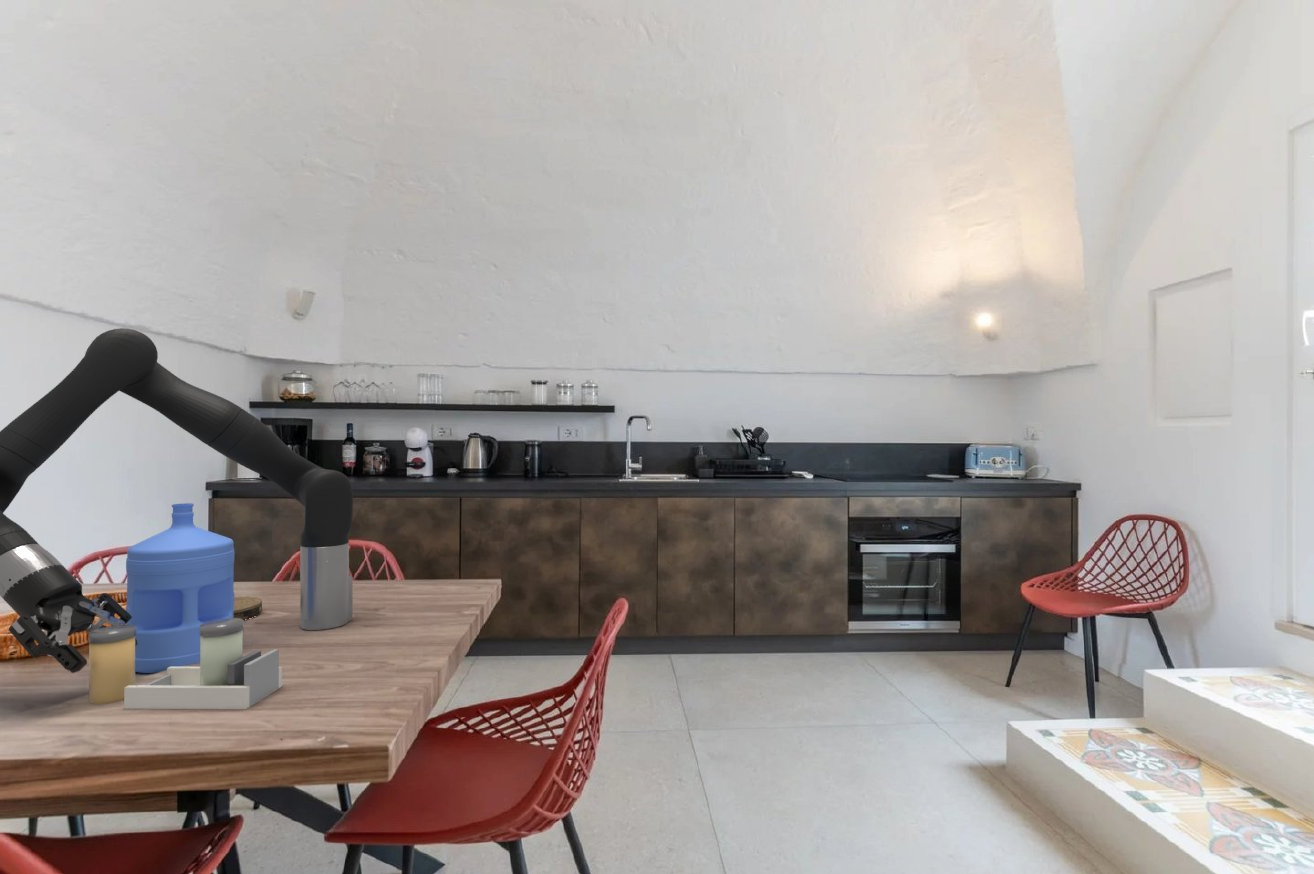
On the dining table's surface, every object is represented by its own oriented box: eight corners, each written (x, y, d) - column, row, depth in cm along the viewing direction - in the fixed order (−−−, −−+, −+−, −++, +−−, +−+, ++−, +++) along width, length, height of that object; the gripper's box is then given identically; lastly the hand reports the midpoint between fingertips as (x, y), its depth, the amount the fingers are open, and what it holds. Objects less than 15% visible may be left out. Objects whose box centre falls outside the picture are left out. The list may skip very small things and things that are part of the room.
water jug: (119, 660, 113) (119, 504, 113) (222, 639, 124) (223, 498, 124) (133, 682, 102) (133, 510, 102) (244, 658, 113) (245, 503, 114)
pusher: (227, 704, 91) (227, 664, 91) (254, 688, 97) (254, 650, 97) (239, 704, 91) (239, 664, 91) (266, 688, 97) (266, 650, 97)
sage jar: (227, 687, 97) (227, 616, 97) (251, 692, 95) (251, 620, 95) (190, 701, 92) (190, 626, 92) (215, 706, 90) (215, 630, 90)
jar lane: (124, 715, 90) (124, 666, 90) (170, 691, 98) (170, 647, 98) (245, 715, 89) (245, 666, 89) (281, 692, 98) (281, 647, 98)
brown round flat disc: (218, 608, 149) (218, 595, 149) (278, 610, 147) (278, 597, 147) (155, 627, 133) (155, 613, 133) (222, 630, 131) (222, 616, 131)
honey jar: (121, 693, 97) (122, 623, 97) (144, 698, 95) (144, 626, 96) (79, 707, 92) (79, 633, 92) (102, 713, 90) (102, 637, 90)
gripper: (0, 573, 87) (80, 656, 87) (94, 555, 101) (163, 626, 101) (-38, 611, 87) (43, 694, 87) (61, 588, 101) (131, 659, 101)
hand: (107, 657), depth 94 cm, fingers open, 8 cm apart
